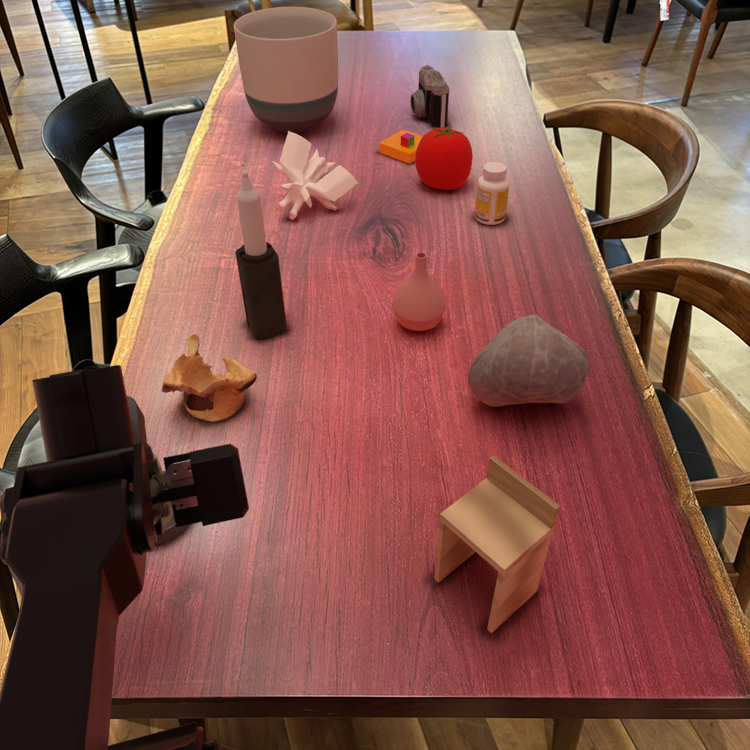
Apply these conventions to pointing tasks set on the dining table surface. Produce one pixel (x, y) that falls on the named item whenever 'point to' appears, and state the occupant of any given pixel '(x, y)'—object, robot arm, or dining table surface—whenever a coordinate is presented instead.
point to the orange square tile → (401, 146)
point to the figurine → (310, 176)
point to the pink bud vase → (419, 299)
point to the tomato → (444, 158)
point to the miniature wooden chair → (499, 536)
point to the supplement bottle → (492, 194)
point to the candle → (258, 268)
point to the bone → (209, 383)
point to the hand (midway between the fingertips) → (144, 491)
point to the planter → (289, 66)
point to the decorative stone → (528, 365)
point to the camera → (431, 97)
